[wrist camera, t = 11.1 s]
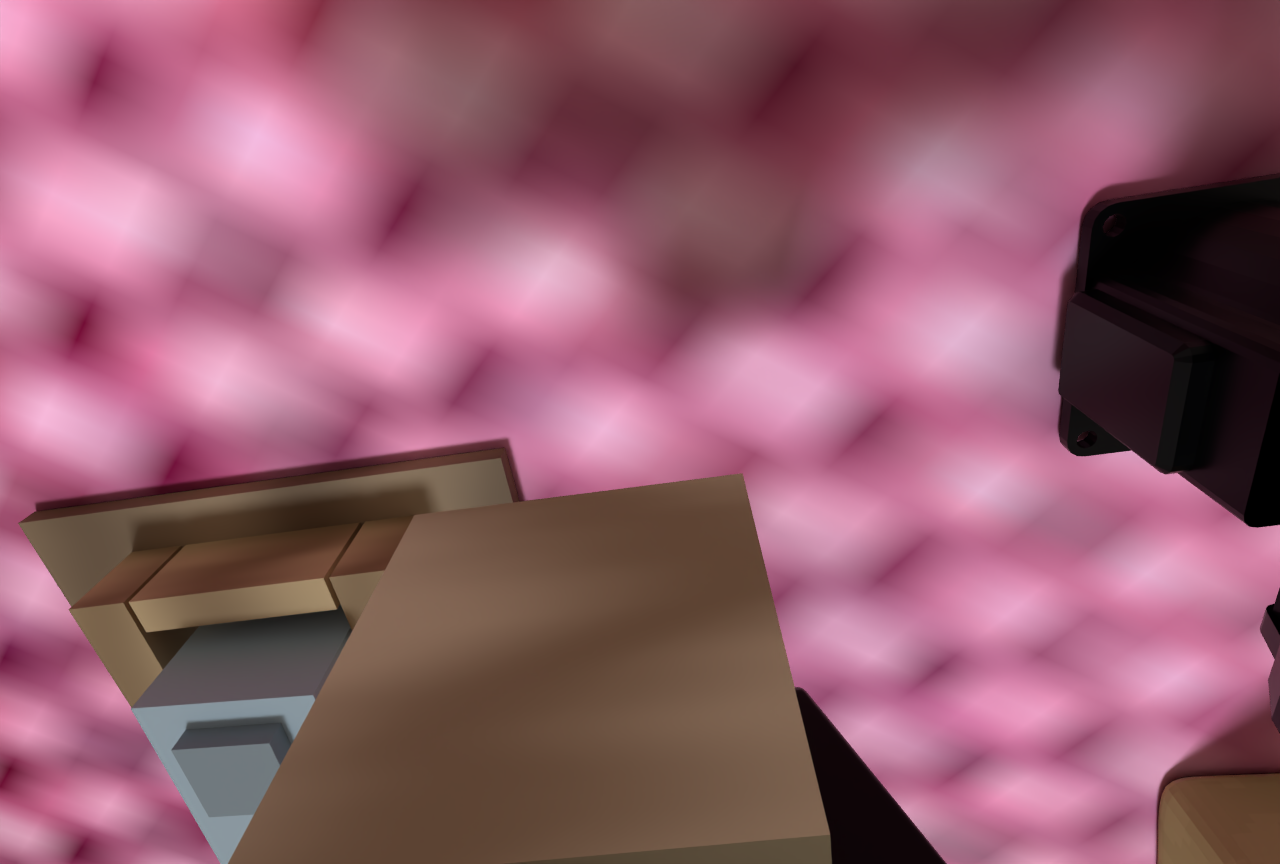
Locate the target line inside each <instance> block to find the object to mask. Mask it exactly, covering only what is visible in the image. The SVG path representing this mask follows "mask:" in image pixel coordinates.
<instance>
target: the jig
mask: <svg viewBox="0 0 1280 864" xmlns="http://www.w3.org/2000/svg"><path fill="white" fill-rule="evenodd" d="M514 502H519V498H518V494H517V491H516V487H515V483H514V480H513V476H512V472H511V469H510V465H509V461H508V458H507V454H506V450H505V448H499V449H491V450H484V451H477V452H469V453H462V454H455V455H448V456H440V457H433V458H426V459H418V460H411V461H404V462H396V463H389V464H382V465H374V466H367V467H360V468H352V469H345V470H338V471H330V472H323V473H316V474H308V475H301V476H294V477H286V478H279V479H272V480H264V481H257V482H250V483H242V484H235V485H228V486H220V487H213V488H206V489H198V490H191V491H184V492H177V493H169V494H162V495H155V496H147V497H140V498H133V499H125V500H118V501H111V502H103V503H96V504H89V505H81V506H74V507H67V508H59V509H52V510H45V511H37V512H34V513H32V514H31V515H29V516H28V517H27V518H25V519H24V520H22V521H21V522H19V523H18V524H19V525H20V527H21V528H22V530H23V532H24V533H25V535H26V536H27V538H28V539H29V541H30V542H31V544H32V546H33V547H34V549H35V550H36V552H37V553H38V555H39V557H40V558H41V560H42V561H43V563H44V564H45V566H46V568H47V569H48V571H49V572H50V574H51V575H52V577H53V578H54V580H55V582H56V583H57V585H58V586H59V588H60V589H61V591H62V593H63V594H64V596H65V597H66V599H67V600H68V602H69V604H70V605H71V608H70V609H69V611H70V613H71V614H72V616H73V617H74V619H75V620H76V622H77V623H78V625H79V627H80V628H81V630H82V631H83V633H84V634H85V636H86V637H87V639H88V641H89V642H90V644H91V645H92V647H93V648H94V650H95V651H96V653H97V655H98V656H99V658H100V659H101V661H102V662H103V664H104V665H105V667H106V669H107V670H108V672H109V673H110V675H111V676H112V678H113V679H114V681H115V683H116V684H117V686H118V687H119V689H120V690H121V692H122V693H123V695H124V697H125V698H126V700H127V701H128V703H129V704H130V706H131V708H132V707H133V705H134V704H135V703H136V702H137V701H138V699H139V698H140V697H141V696H142V694H143V693H144V692H145V691H146V690H147V688H148V687H149V686H150V685H151V684H152V682H153V681H154V680H155V679H156V678H157V676H158V675H159V674H160V673H161V672H162V670H163V669H164V668H165V667H166V665H167V664H168V663H169V662H170V661H171V659H172V658H173V657H174V656H175V655H176V653H177V652H178V651H179V650H180V649H181V647H182V646H183V645H184V644H185V643H186V641H187V640H188V639H189V638H190V636H191V635H192V634H193V633H194V632H195V630H196V629H197V628H198V627H199V626H203V625H212V624H220V623H228V622H237V621H245V620H253V619H262V618H270V617H278V616H286V615H295V614H303V613H311V612H320V611H328V610H336V609H338V607H339V605H340V604H341V606H342V609H343V611H344V613H345V616H346V618H347V620H348V623H349V625H350V627H351V630H352V631H353V629H354V627H355V625H356V623H357V621H358V619H359V618H360V616H361V614H362V612H363V610H364V608H365V606H366V605H367V603H368V601H369V599H370V597H371V595H372V593H373V591H374V590H375V588H376V586H377V584H378V582H379V580H380V578H381V577H382V575H383V573H384V571H385V569H386V567H387V565H388V563H389V562H390V560H391V558H392V556H393V554H394V552H395V550H396V549H397V547H398V545H399V543H400V541H401V539H402V537H403V535H404V534H405V532H406V530H407V528H408V526H409V524H410V522H411V521H412V519H413V517H414V515H419V514H427V513H435V512H443V511H450V510H458V509H466V508H474V507H482V506H490V505H498V504H506V503H514Z"/></svg>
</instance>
